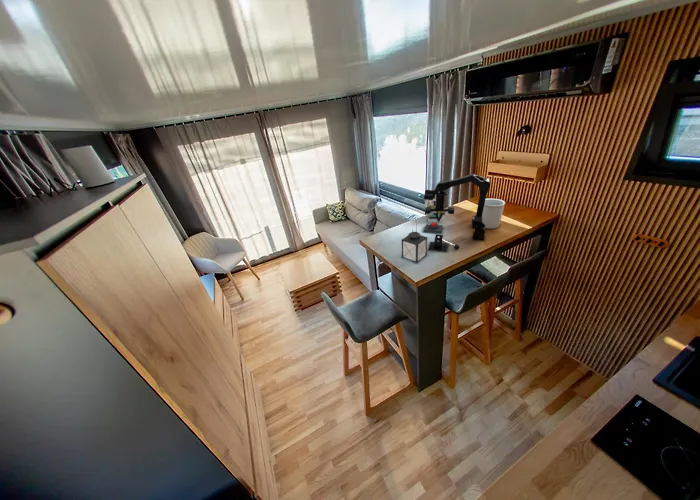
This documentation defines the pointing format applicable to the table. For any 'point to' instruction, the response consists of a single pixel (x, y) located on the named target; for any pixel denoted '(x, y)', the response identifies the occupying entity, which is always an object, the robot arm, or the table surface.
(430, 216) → the tea box
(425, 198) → the robot arm
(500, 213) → the utensil holder
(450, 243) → the lever
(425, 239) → the lantern
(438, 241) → the bracket
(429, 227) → the button block
